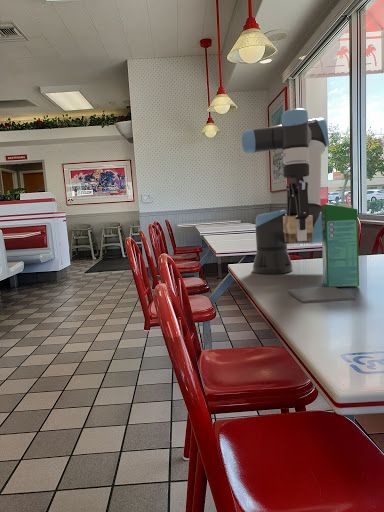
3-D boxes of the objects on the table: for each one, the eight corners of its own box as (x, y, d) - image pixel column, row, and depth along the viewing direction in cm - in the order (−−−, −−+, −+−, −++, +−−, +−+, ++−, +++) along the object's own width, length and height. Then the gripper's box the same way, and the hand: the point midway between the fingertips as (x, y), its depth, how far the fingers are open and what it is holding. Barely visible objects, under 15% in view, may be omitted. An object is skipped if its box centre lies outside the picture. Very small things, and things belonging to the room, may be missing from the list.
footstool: (283, 241, 122) (283, 216, 120) (305, 240, 122) (305, 214, 121) (290, 243, 115) (289, 217, 114) (313, 242, 115) (312, 215, 114)
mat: (287, 291, 115) (287, 289, 115) (333, 288, 115) (333, 286, 115) (302, 302, 101) (302, 300, 101) (354, 299, 101) (354, 297, 101)
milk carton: (359, 286, 113) (357, 201, 112) (327, 286, 115) (324, 203, 113) (352, 282, 122) (351, 203, 120) (323, 282, 124) (321, 205, 122)
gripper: (275, 167, 125) (277, 237, 128) (293, 160, 105) (295, 243, 108) (298, 166, 125) (300, 236, 128) (320, 158, 105) (321, 241, 108)
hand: (297, 239), depth 118 cm, fingers closed on footstool, 7 cm apart
